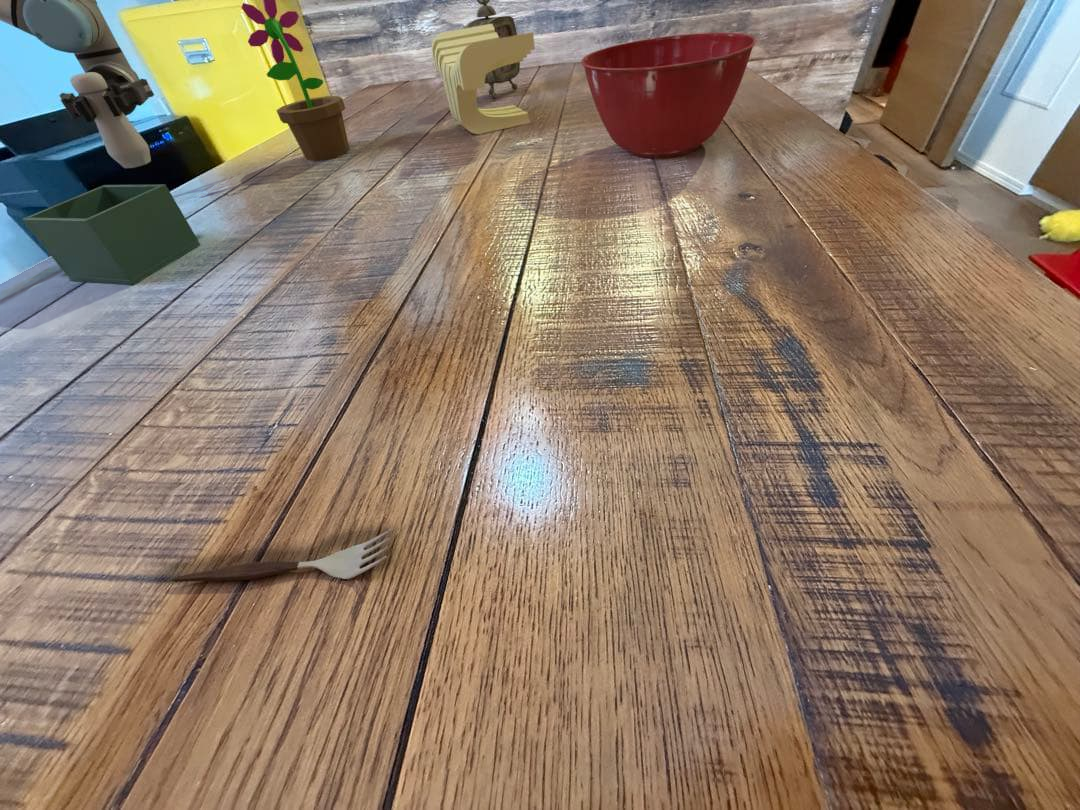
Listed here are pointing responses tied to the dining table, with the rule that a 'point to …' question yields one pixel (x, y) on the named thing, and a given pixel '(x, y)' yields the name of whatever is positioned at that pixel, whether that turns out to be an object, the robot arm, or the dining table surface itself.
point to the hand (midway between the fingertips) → (98, 108)
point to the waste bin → (114, 233)
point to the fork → (298, 565)
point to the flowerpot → (311, 118)
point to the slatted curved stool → (478, 73)
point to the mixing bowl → (667, 89)
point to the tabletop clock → (503, 29)
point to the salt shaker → (112, 123)
